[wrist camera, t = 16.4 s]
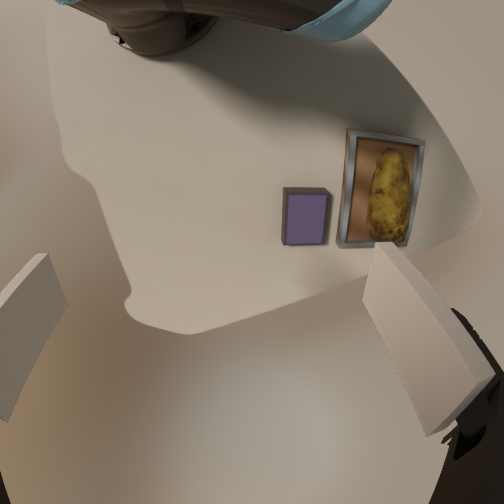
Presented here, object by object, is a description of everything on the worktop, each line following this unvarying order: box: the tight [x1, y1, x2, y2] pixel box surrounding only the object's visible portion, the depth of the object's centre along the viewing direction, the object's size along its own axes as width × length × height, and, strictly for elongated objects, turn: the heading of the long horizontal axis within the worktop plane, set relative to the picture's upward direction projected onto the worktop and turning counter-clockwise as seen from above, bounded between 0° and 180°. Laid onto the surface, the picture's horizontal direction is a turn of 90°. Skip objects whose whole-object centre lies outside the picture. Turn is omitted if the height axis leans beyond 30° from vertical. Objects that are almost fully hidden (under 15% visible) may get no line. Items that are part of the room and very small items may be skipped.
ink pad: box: [281, 187, 329, 245], centre depth 39 cm, size 8×6×2 cm
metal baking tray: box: [336, 129, 425, 248], centre depth 37 cm, size 18×13×2 cm
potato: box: [366, 148, 410, 244], centre depth 34 cm, size 8×13×8 cm, turn 155°
